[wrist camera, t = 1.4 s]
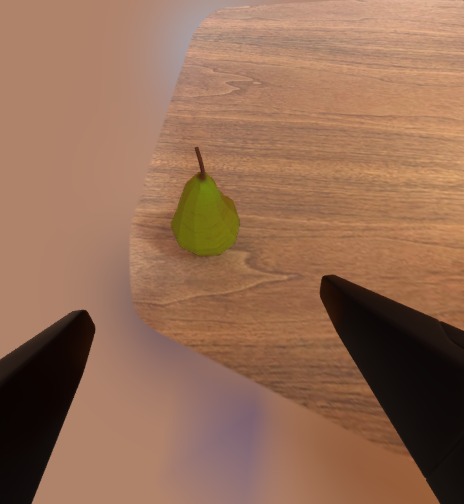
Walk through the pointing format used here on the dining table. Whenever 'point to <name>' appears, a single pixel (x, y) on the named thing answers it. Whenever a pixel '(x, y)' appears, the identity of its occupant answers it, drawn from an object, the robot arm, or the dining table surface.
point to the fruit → (205, 216)
